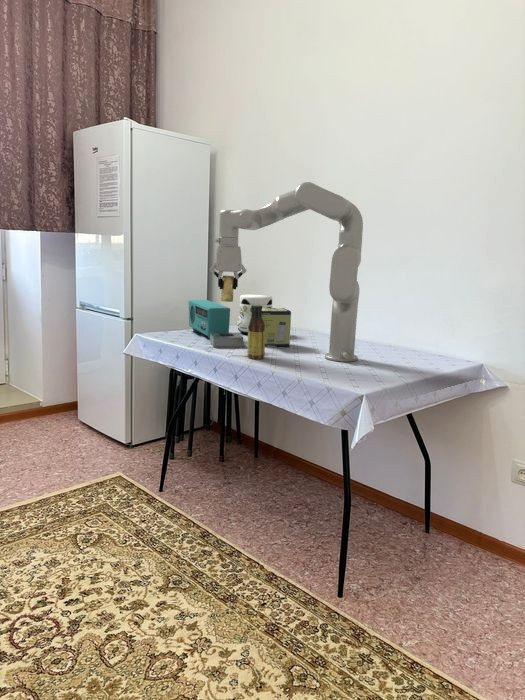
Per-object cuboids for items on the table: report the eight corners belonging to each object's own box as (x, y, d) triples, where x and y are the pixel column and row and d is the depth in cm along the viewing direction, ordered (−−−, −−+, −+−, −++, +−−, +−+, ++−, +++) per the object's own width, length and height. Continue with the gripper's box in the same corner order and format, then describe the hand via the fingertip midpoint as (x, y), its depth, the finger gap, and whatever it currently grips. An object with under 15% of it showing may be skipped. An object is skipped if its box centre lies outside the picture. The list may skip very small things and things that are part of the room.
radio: (186, 330, 257) (186, 299, 255) (206, 330, 261) (207, 299, 259) (206, 343, 227) (207, 308, 224) (229, 342, 231) (230, 307, 228)
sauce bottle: (256, 355, 204) (258, 303, 200) (267, 358, 200) (269, 305, 196) (243, 357, 200) (245, 304, 196) (255, 360, 195) (257, 306, 191)
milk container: (229, 332, 257) (230, 295, 254) (256, 329, 269) (257, 293, 265) (253, 337, 245) (254, 298, 241) (280, 334, 256) (282, 297, 253)
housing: (243, 349, 215) (243, 337, 214) (213, 349, 212) (213, 337, 211) (238, 344, 226) (238, 332, 225) (209, 344, 224) (210, 332, 223)
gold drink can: (233, 301, 212) (235, 276, 210) (221, 301, 211) (223, 275, 209) (232, 300, 216) (233, 275, 215) (220, 300, 216) (221, 275, 214)
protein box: (248, 343, 230) (249, 307, 227) (283, 343, 234) (284, 307, 231) (254, 348, 220) (255, 310, 217) (290, 347, 224) (292, 310, 221)
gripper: (207, 241, 204) (207, 289, 208) (251, 243, 207) (250, 290, 211) (206, 241, 211) (205, 287, 215) (248, 243, 215) (247, 288, 218)
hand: (227, 288), depth 213 cm, fingers closed on gold drink can, 4 cm apart
